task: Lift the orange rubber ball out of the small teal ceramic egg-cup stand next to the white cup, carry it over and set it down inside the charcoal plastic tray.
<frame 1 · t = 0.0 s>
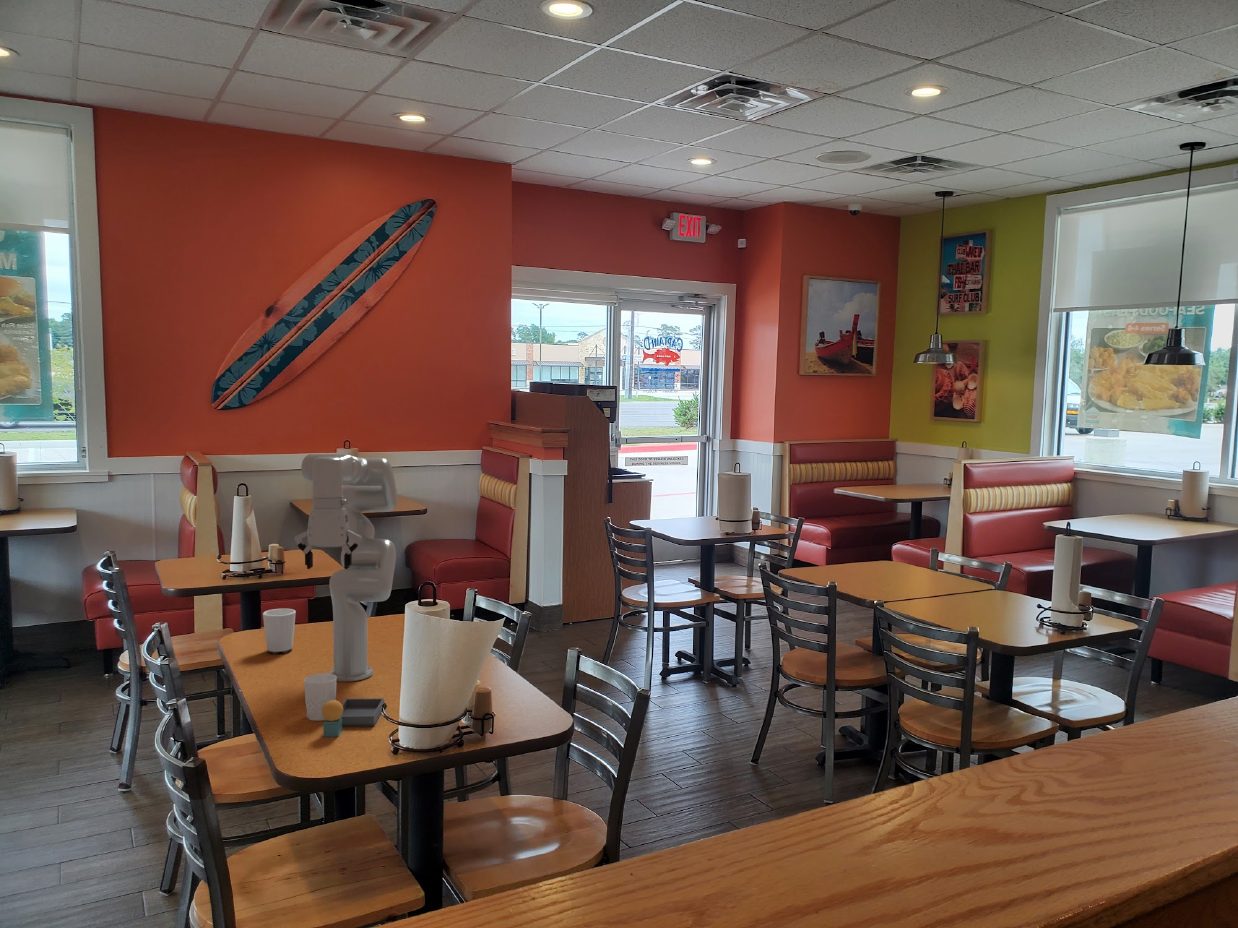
hand: (328, 568, 232), 37 cm above the table, tool pointing down, fingers open, 9 cm apart
tray: (359, 717, 226), on the table
ball: (332, 710, 214), point 6 cm above the table, touching stand
white cup: (320, 716, 226), on the table
cup: (279, 651, 282), on the table
stand: (332, 733, 215), on the table
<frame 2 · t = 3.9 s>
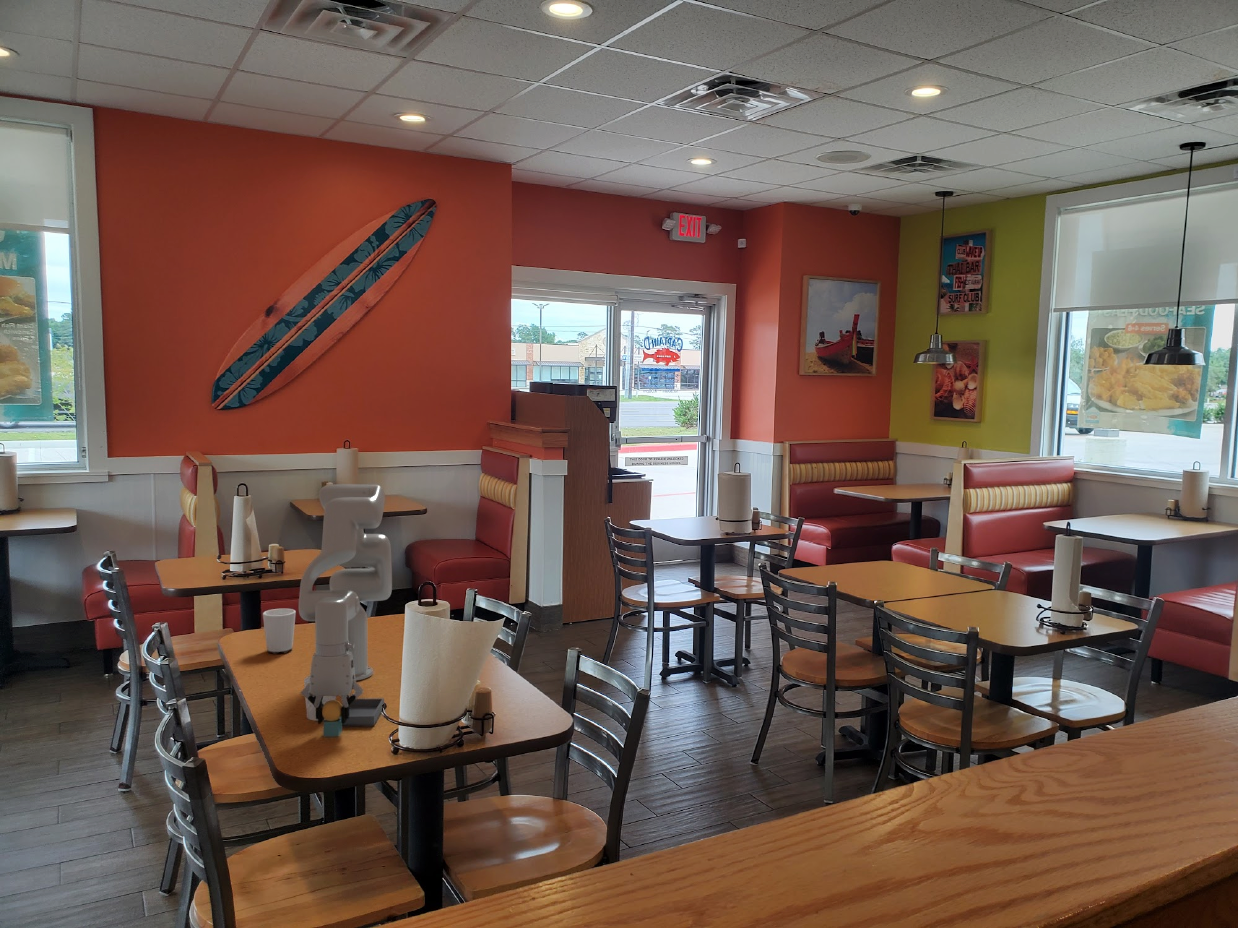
hand: (332, 720, 214), 3 cm above the table, tool pointing down, fingers closed on ball, 4 cm apart
ball: (332, 710, 214), point 6 cm above the table, touching gripper, stand
everything else where it was.
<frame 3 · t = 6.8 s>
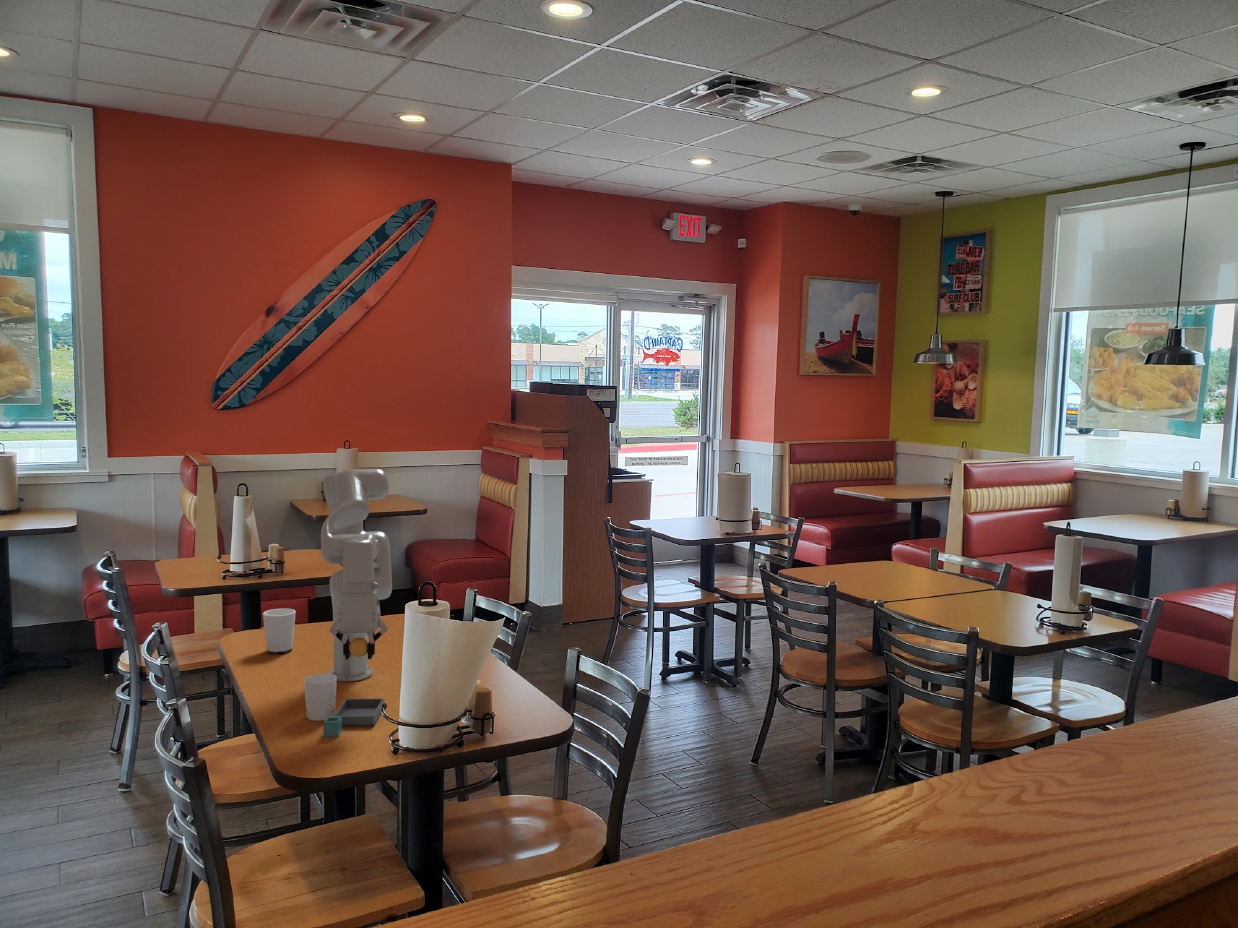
hand: (359, 657, 225), 16 cm above the table, tool pointing down, fingers closed on ball, 4 cm apart
ball: (359, 647, 224), point 18 cm above the table, touching gripper
everything else where it was.
when the fingers open (2 cm above the table, at t = 9.9 s): ball drops 2 cm, resting on tray.
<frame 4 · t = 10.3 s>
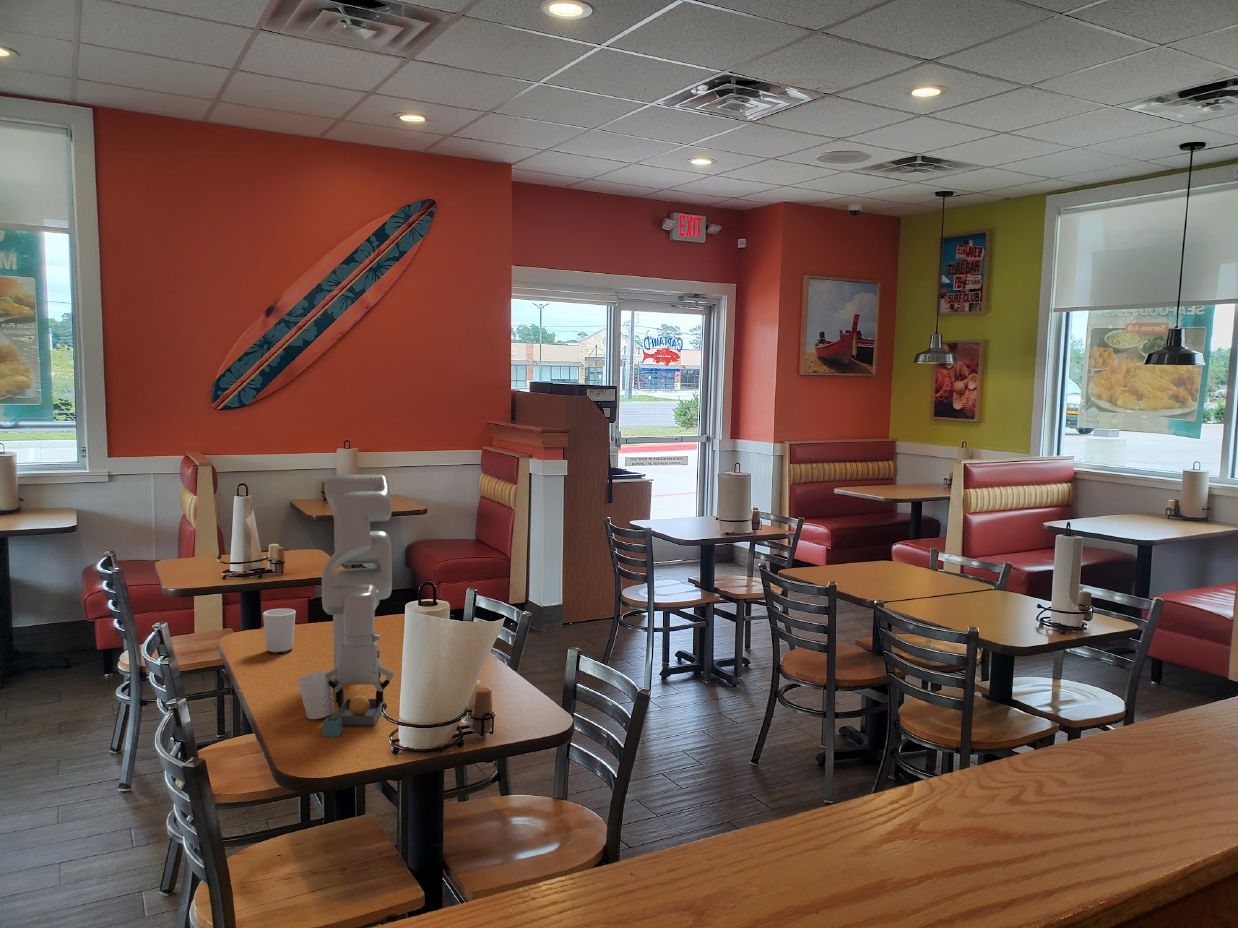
hand: (359, 705, 225), 3 cm above the table, tool pointing down, fingers open, 9 cm apart
ball: (359, 705, 226), point 3 cm above the table, touching tray
white cup: (320, 714, 226), on the table, touching gripper
everything else where it was.
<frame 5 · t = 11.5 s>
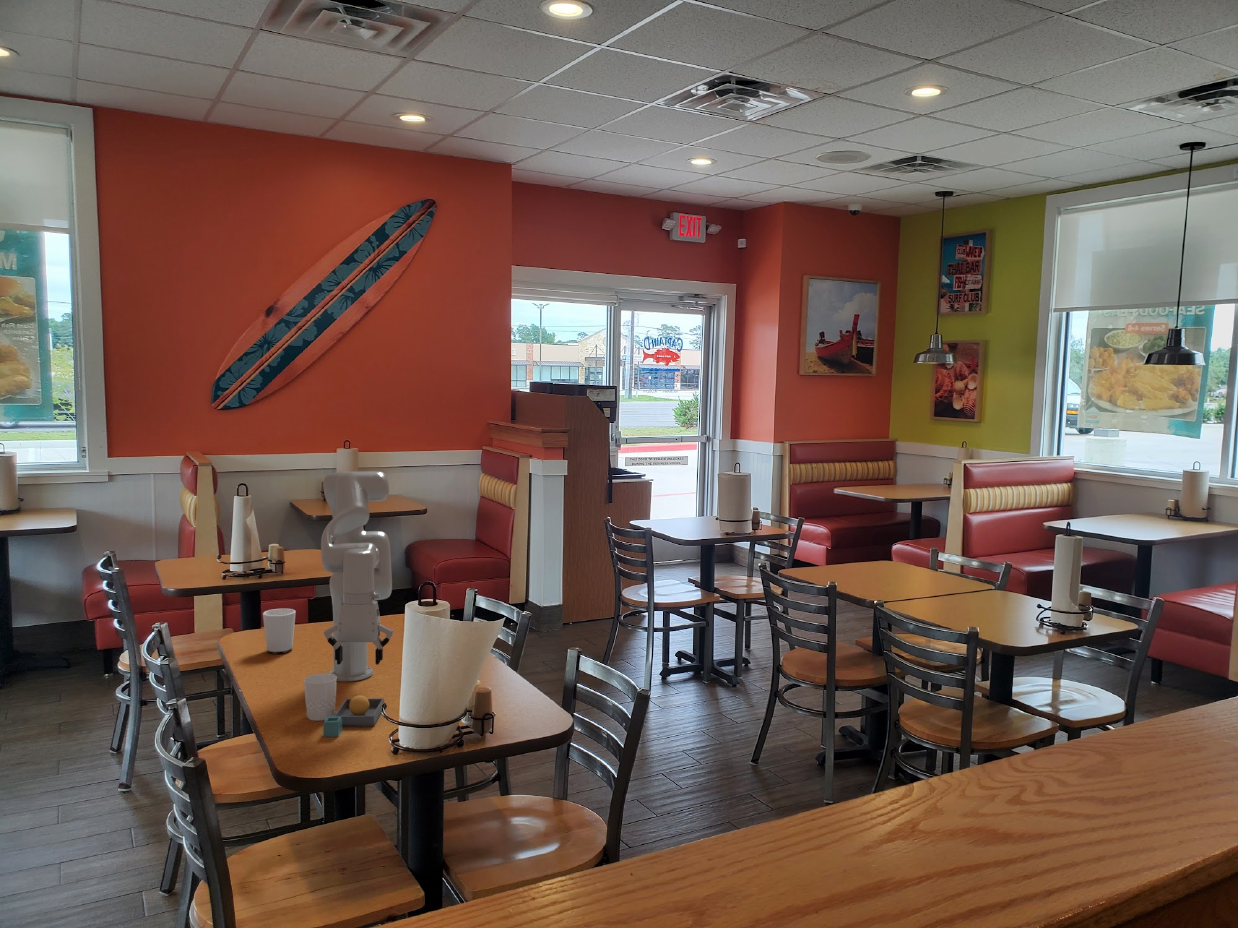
hand: (359, 662, 225), 14 cm above the table, tool pointing down, fingers open, 9 cm apart
white cup: (320, 716, 226), on the table
everything else where it was.
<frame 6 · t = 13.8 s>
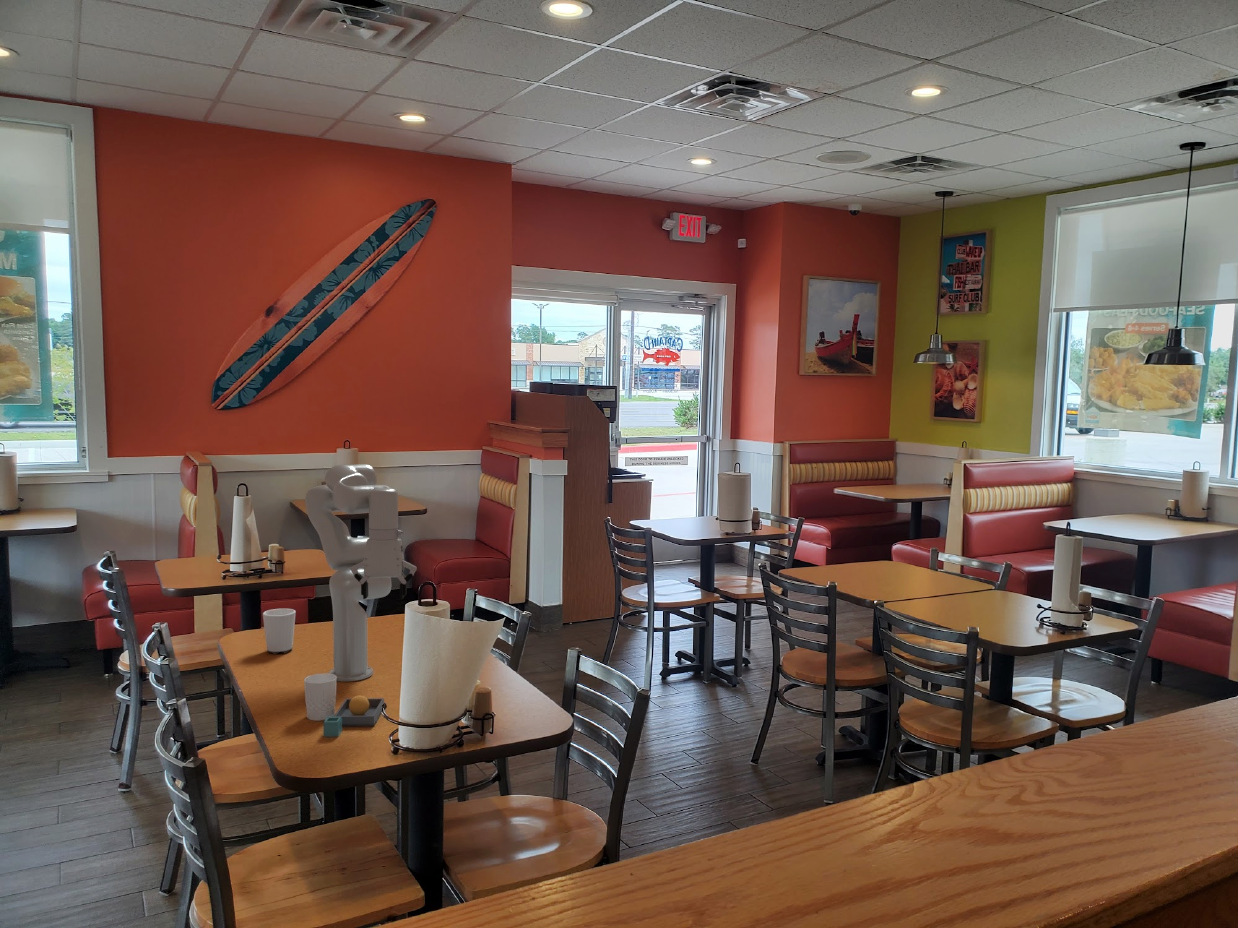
hand: (383, 597, 236), 28 cm above the table, tool pointing down, fingers open, 9 cm apart
nothing on the table moved.
at the end: ball inside the target area on the tray (0.1 cm from its centre), point 3.1 cm above the tray's base; the gripper is holding nothing; ball moved 11.9 cm from its start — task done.
